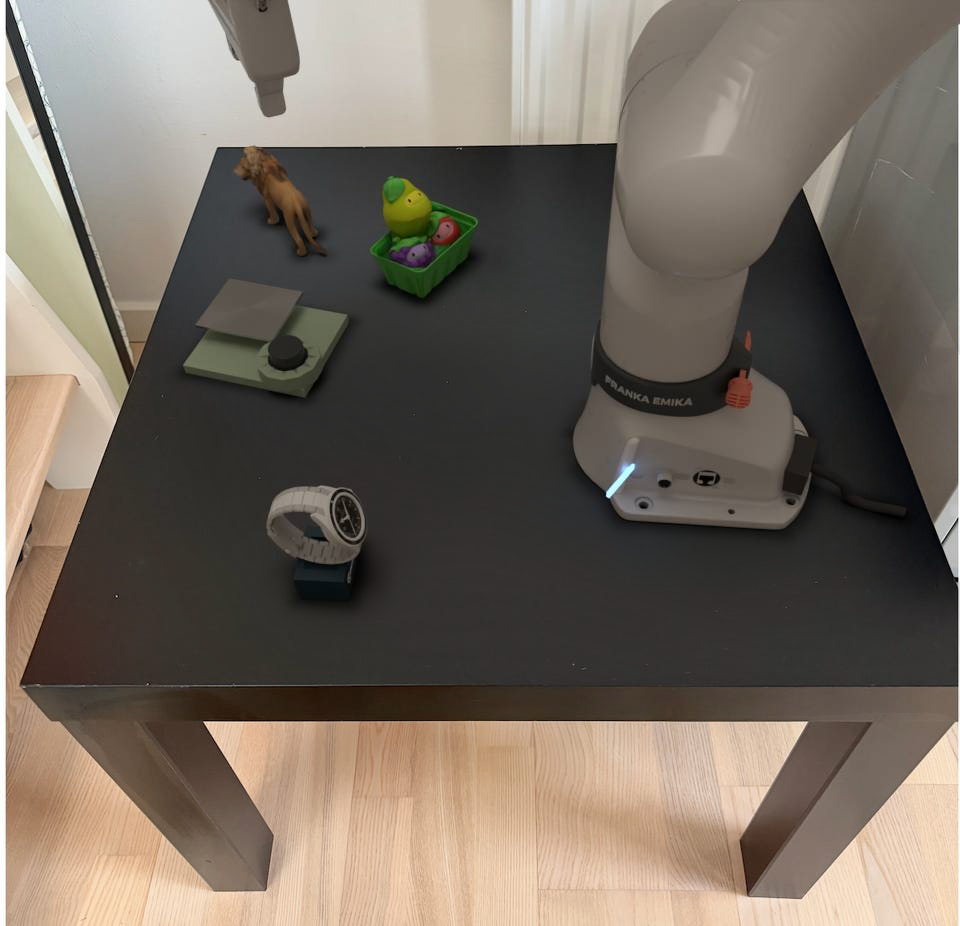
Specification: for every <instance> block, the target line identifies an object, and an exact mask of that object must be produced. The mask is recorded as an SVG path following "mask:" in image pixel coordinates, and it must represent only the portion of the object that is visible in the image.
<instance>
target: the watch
mask: <svg viewBox="0 0 960 926" xmlns="http://www.w3.org/2000/svg"><path fill="white" fill-rule="evenodd" d="M293 512H294V513H296V512H297V513H298V512H299V513H303V512H304V513H309V514H310V519H311V520H312V521H313V522H314V523H316V525H318V526H315V525H314V526H313V525H305V529H304V532H303V531H302V530H301V529H299V528H298V527H296V526H295V525H294V524H293V523H291V522H290V521H289V520H288V518H287V517H286V516H285V515H284V514H287V513H293ZM367 519H368V517H367V514H366V511H365V508H364V505H363V504H362V502H361V500H360V498H359V497H358V496H357V495H356V494H355V493H354V492H353V489H351V488H347V487H338V488H336V487H332V486H327V485H319V486H295V487H290V488H287V489H285V490H283V491H281V492H280V493H278V494H277V495H276V496H275V497H274V499H273V500H272V503H271V506H270V509H269V512H268V516H267V520H266V525H265V526H266V530H267V535H268V538H270V539H271V540H272V542H273V543H274V544H275V545H277V547H279V548H280V549H281V550H282V551H284V552H285V553H286V554H288V555H290V556H291V557H292V558H294V559H296V558H297V560H296V561H297V562H296V565H295V570H294V574H293V578H292V581H293V583H294V587H295V590H296V593H297V595H298V598H299V599H301V600H315V601H316V600H317V601H332V602H350V598H351V593H352V588H353V584H354V577H355V573H356V567H357V563H358V558H359V554H360V552H361V548H362V544H363V542H364V540H365V538H366V535H367V532H368V520H367Z"/></svg>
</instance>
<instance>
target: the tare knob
mask: <svg viewBox="0 0 960 926" xmlns="http://www.w3.org/2000/svg"><path fill="white" fill-rule="evenodd" d="M268 353H269V357H270V360H271V363H272V365H273V367H274V368H276V369H277V370H280V371H290V370H295V369H297V368H298V367H300V366H302V365H303V363H304V362H305V360H306V354H305V350H304V346H303V342H302V341H301V339H300V338H298V337H296V336H293V335H284V336H280V337H277V338H275V339H274V340H273V341H271V343H270V344H269V346H268Z"/></svg>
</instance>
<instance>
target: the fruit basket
mask: <svg viewBox="0 0 960 926" xmlns="http://www.w3.org/2000/svg"><path fill="white" fill-rule="evenodd" d="M382 200H383V201H382V202H383V207H382V214H383V219H384V223H385V225H386V226H387V228H388V229H389V231H388V232H387V233H386V234H385V235H383V236H382V237H381V238H380V239H379V240H377V242H375V243H374V244H373V245H372V246H371V247H370V249H369V251H370V253H371V255H372V258H374V259H375V261H376V262H377V264H378V265H379V268H380V269H381V272H382V273H383V275H384V278H385V279H386V281H387V283H388V284H389V285H392V286H396V287H397V288H398V289H400V290H402V291H404V292H407V293H409V294H412V295H416V296H417V297H418V298H420V299H424V298H425V297H426V296H427V295H428V294H429V293H431V291H432V289H434V288H436V287H437V286H438V285H440V284H441V283H442V281H443V280H444V279H445V277H447V276H449V275H450V274H451V273H452V272H453V271H454V270H455V269H456V268H457V267H458V266H459V265H460V264H462V263H463V262H464V261H465V260H466V259H467V258H468V255H469V253H470V252H469V251H470V248H471V244H472V240H473V237H474V234H475V232H476V230H477V226H478V224H479V221H478V218H476V217H474V216H472V215H469V214H467V213H464V212H461V211H459V210H456V209H454V208H451V207H448V206H446V205H444V204H441V203H438V202H435V201H433V200H430V199H429V197H428V196H427V195H426V194H425V193H424V192H423V191H422V190H420V189H419V188H417V187H415V185H414V184H413V183H411V182H410V181H409V180H408V179H406V178H401V177H394V176H393V175H391V176H388V177H387V181H385V183H384V184H383V186H382Z"/></svg>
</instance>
